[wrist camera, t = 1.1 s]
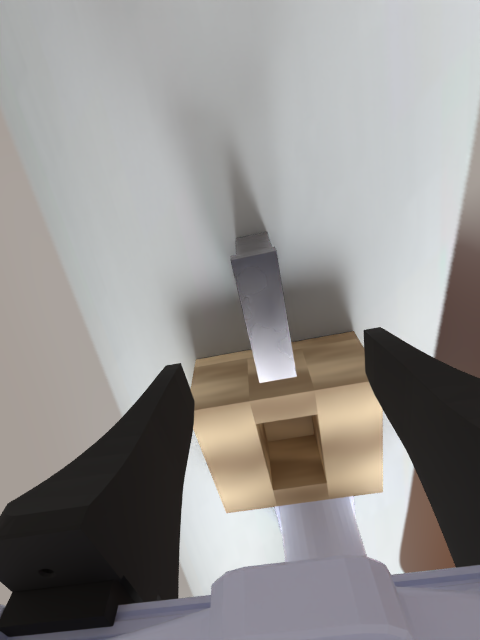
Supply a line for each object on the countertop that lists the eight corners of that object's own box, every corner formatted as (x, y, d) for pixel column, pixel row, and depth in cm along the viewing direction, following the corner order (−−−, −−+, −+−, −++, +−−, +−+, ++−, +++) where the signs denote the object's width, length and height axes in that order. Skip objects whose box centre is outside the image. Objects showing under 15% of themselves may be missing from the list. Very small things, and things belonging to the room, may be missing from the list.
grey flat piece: (281, 314, 24) (296, 376, 18) (253, 319, 24) (259, 383, 18) (264, 215, 20) (276, 250, 14) (232, 222, 21) (230, 260, 14)
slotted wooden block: (359, 434, 30) (382, 492, 25) (228, 454, 31) (226, 513, 26) (353, 331, 24) (382, 379, 20) (195, 359, 26) (186, 411, 21)
